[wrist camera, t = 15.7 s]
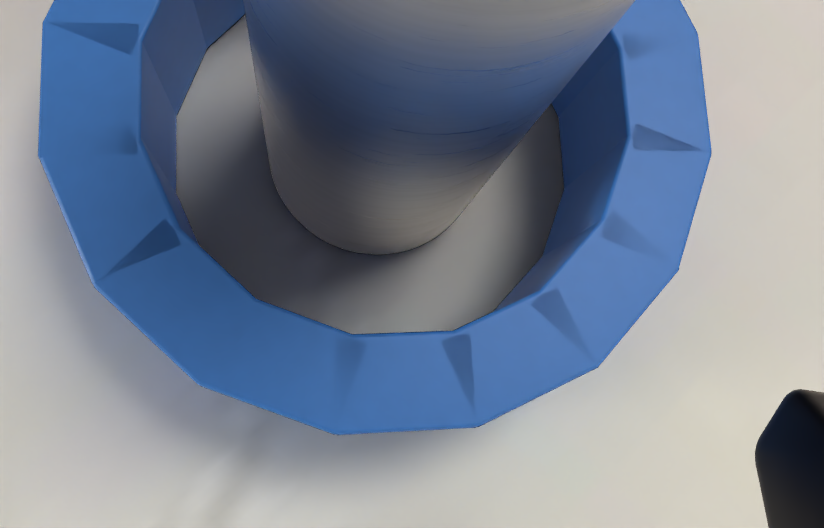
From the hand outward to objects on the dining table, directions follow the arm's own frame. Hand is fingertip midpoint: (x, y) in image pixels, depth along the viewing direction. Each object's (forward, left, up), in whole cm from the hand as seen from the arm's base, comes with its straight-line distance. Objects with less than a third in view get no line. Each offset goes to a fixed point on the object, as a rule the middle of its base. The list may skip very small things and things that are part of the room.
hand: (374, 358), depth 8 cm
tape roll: (+4, -3, -8) cm, 10 cm away
